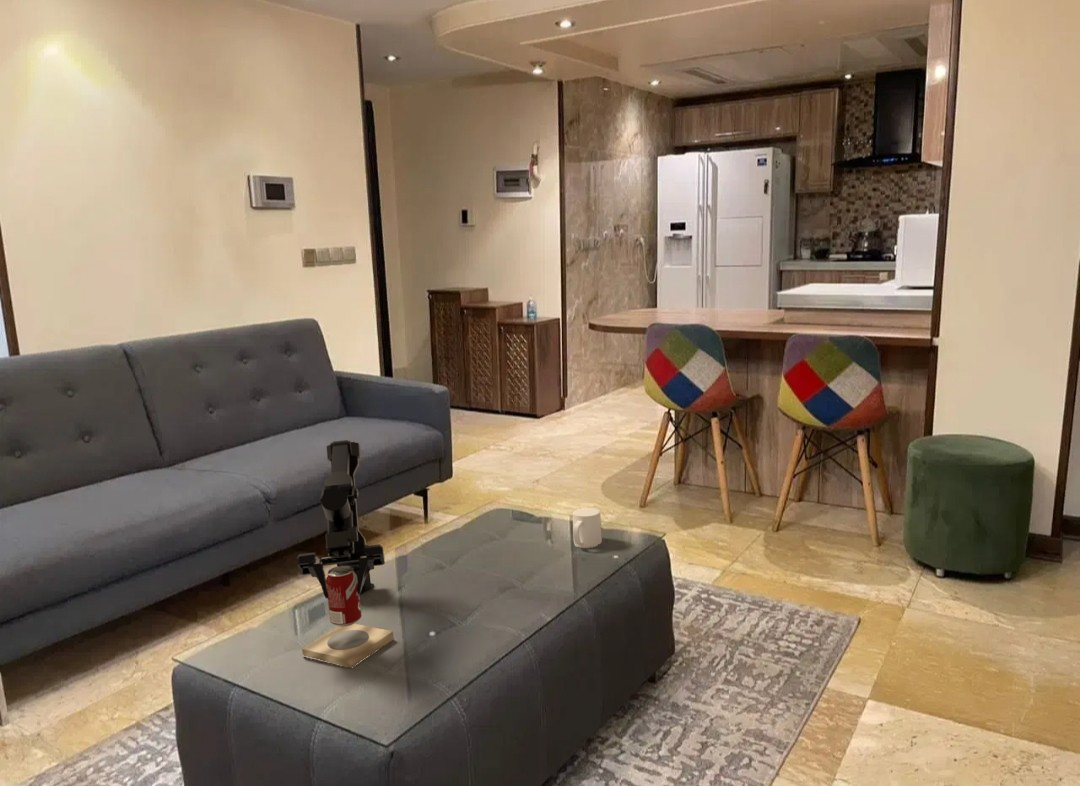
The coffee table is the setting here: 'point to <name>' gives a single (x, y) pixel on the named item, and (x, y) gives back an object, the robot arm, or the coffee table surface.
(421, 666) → the coffee table surface
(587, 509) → the mug
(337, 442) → the robot arm
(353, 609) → the soda can
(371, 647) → the base slab
